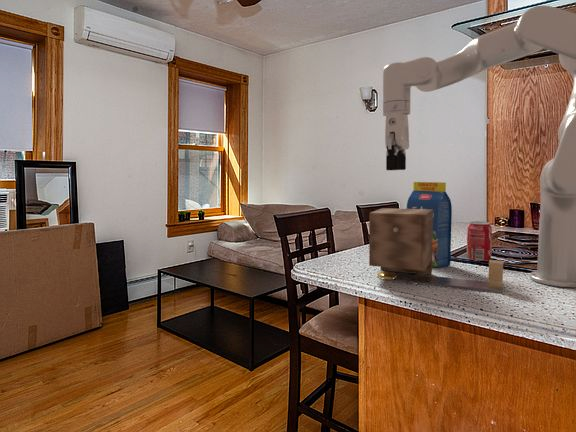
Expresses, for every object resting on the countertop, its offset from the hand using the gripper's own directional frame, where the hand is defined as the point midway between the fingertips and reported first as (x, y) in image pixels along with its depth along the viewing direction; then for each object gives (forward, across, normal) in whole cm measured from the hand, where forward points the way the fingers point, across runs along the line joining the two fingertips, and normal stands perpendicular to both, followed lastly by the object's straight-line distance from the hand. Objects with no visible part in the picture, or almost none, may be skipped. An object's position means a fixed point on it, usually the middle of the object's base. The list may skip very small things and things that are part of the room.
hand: (396, 170), depth 116 cm
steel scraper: (+29, -11, -17) cm, 36 cm away
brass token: (+29, -11, 0) cm, 31 cm away
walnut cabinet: (+29, -10, -4) cm, 31 cm away
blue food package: (+29, +10, -7) cm, 32 cm away
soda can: (+29, +20, -21) cm, 41 cm away
